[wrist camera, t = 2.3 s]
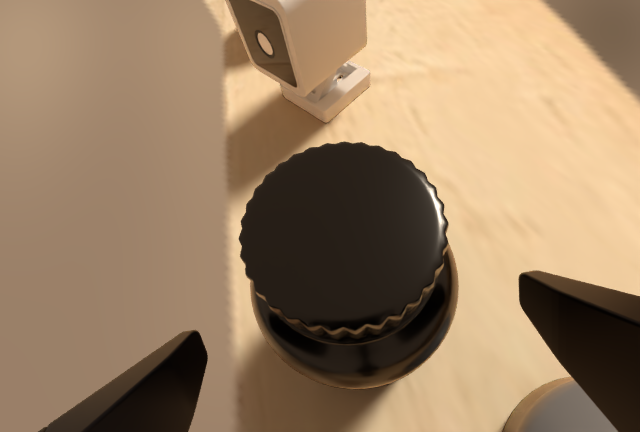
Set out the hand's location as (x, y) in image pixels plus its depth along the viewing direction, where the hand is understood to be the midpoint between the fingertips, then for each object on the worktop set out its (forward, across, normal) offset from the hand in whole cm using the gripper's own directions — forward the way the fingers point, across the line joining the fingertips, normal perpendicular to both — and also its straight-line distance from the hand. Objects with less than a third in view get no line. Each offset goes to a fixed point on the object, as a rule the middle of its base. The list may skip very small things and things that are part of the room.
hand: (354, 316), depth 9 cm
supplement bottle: (+8, 0, +6) cm, 10 cm away
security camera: (+21, 0, -7) cm, 22 cm away
